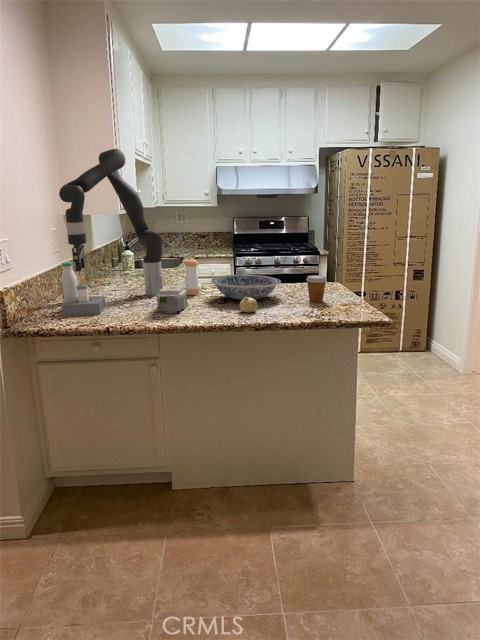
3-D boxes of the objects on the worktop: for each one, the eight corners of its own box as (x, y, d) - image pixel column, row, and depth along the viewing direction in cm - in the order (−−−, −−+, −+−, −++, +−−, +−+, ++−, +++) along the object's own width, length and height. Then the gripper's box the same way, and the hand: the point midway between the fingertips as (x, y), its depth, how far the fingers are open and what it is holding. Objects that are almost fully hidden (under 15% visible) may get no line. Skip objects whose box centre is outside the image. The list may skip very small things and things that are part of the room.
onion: (239, 310, 206) (239, 294, 204) (257, 309, 206) (257, 294, 204) (239, 314, 198) (239, 298, 196) (257, 314, 198) (257, 298, 196)
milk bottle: (83, 301, 229) (78, 261, 224) (72, 304, 222) (68, 263, 217) (70, 300, 231) (65, 261, 226) (59, 304, 224) (54, 263, 219)
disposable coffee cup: (328, 300, 222) (329, 275, 219) (323, 304, 214) (323, 278, 210) (309, 298, 226) (309, 274, 223) (303, 302, 217) (303, 277, 214)
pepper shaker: (197, 296, 237) (195, 259, 232) (183, 295, 238) (181, 258, 233) (201, 293, 244) (199, 257, 239) (188, 292, 245) (186, 257, 240)
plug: (90, 309, 211) (87, 284, 208) (88, 312, 207) (85, 285, 204) (81, 310, 210) (78, 284, 207) (79, 312, 206) (76, 286, 203)
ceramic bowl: (283, 306, 211) (284, 284, 209) (209, 307, 211) (209, 286, 209) (277, 291, 245) (277, 272, 242) (213, 292, 245) (212, 274, 242)
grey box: (154, 315, 196) (152, 292, 194) (166, 305, 224) (165, 284, 222) (181, 315, 195) (180, 292, 194) (189, 304, 223) (189, 284, 222)
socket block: (105, 306, 217) (104, 296, 216) (100, 314, 202) (99, 303, 201) (70, 307, 215) (69, 297, 214) (62, 316, 200) (61, 305, 199)
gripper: (82, 233, 193) (86, 272, 197) (88, 231, 207) (92, 267, 211) (63, 234, 192) (68, 272, 196) (70, 232, 206) (75, 267, 210)
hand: (80, 269), depth 204 cm, fingers open, 8 cm apart
